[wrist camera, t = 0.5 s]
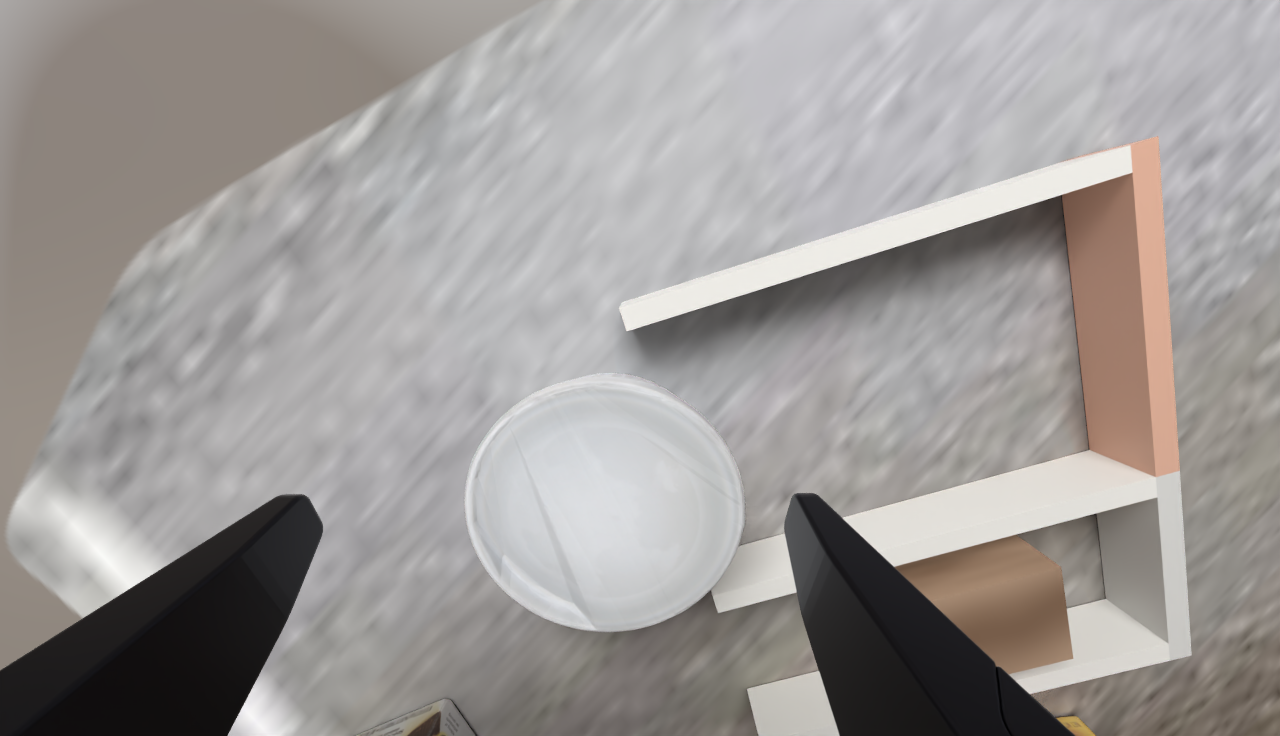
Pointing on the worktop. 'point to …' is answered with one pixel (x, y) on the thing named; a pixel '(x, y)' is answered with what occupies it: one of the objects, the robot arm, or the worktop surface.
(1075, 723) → the candy box
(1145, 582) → the cream corner frame
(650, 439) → the ramekin
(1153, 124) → the worktop surface
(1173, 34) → the worktop surface
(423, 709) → the coffee box
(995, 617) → the walnut block
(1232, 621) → the worktop surface
